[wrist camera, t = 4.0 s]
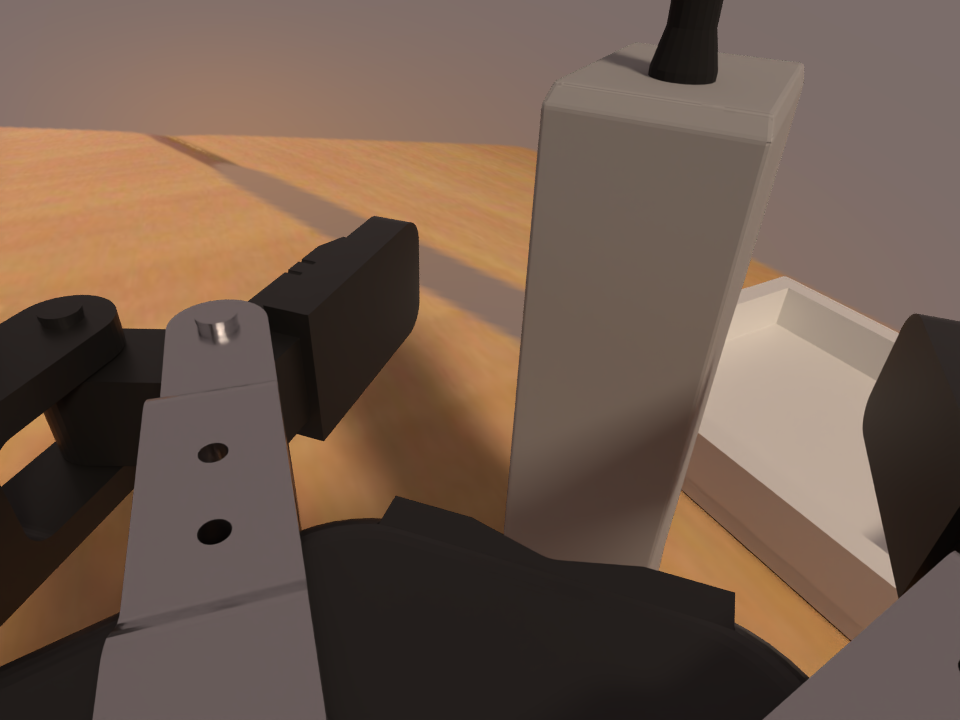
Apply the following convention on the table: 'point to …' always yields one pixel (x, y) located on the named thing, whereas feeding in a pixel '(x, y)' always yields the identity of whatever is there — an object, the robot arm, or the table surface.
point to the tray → (799, 448)
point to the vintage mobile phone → (636, 280)
